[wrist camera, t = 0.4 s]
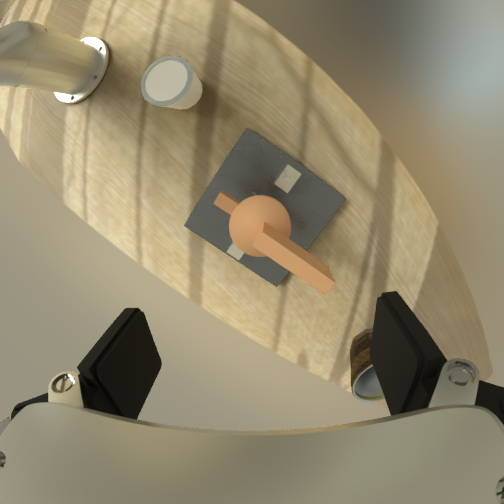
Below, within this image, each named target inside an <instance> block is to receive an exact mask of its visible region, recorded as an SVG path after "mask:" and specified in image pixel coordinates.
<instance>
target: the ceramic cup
mask: <svg viewBox="0 0 504 504" xmlns="http://www.w3.org/2000/svg"><path fill="white" fill-rule="evenodd" d="M372 333H373V329H366V330H365V331H363V332H362V333H360V334H359V335H357V336H356V337H355V338H354V339H353V342H352V345H351V348H350V360H351V387H352V393H353V395H354V396H355V397H356V398H357V399H359V400H361V401H365V402H374V401H380V400H383V399H385V397H384V394H383V391H382V388H381V386H380V383H379V380H378V378H377V375H376V372H375V370H374V367H373V365H372V362H371V359H370V345H371V339H372Z"/></svg>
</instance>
